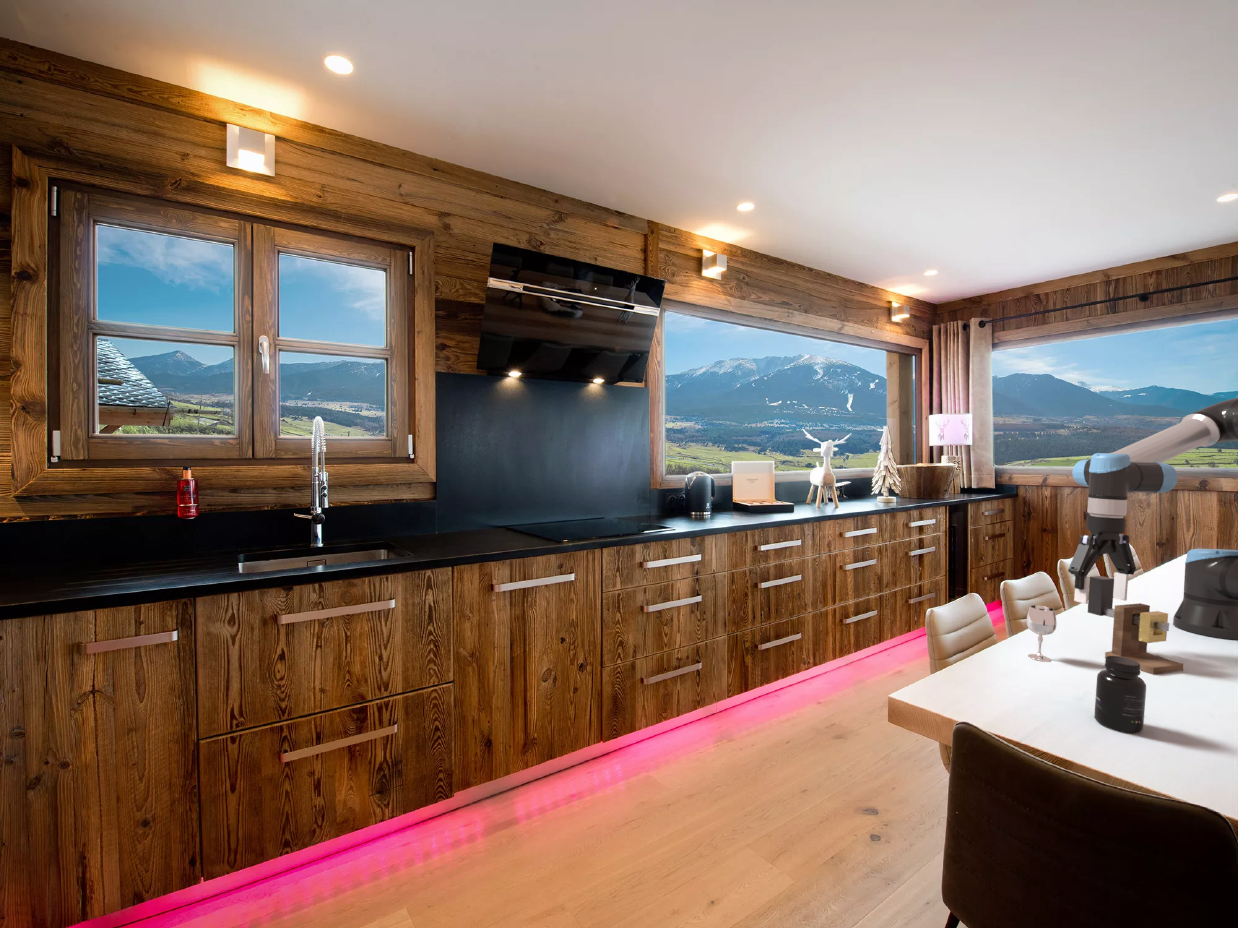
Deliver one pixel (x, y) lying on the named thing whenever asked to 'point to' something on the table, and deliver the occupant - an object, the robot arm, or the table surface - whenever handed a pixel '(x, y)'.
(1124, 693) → the supplement bottle
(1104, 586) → the grey hammer
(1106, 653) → the bearing frame
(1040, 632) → the wineglass
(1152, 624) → the block
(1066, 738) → the table surface
